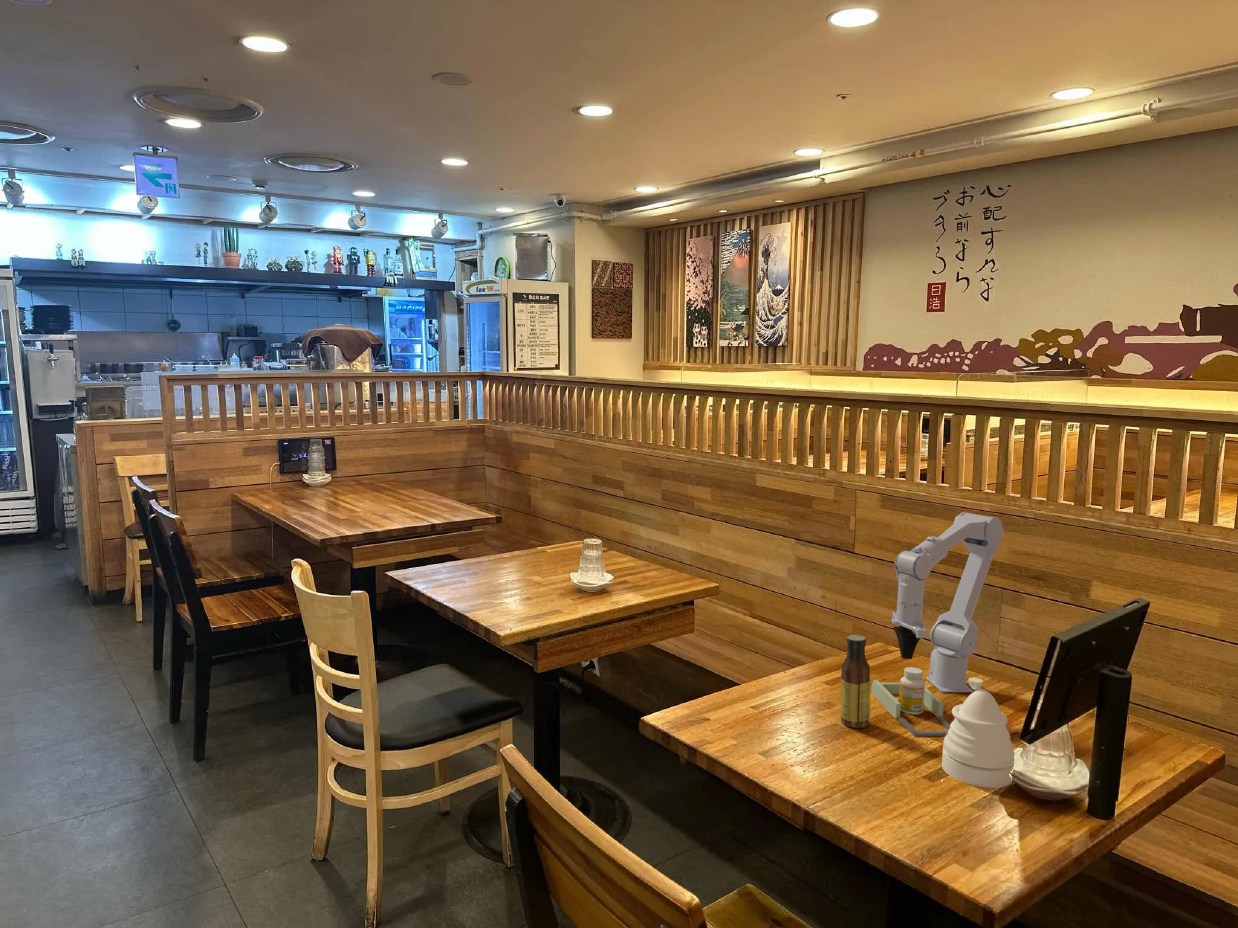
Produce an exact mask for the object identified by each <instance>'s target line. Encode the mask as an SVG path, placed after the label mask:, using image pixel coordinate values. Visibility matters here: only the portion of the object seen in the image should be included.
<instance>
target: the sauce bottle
mask: <svg viewBox="0 0 1238 928" xmlns="http://www.w3.org/2000/svg"><path fill="white" fill-rule="evenodd" d="M846 644H847V650H846V651H847V652H846V658H845V659H844V661H843V663H842V665H841V674H840V675H841V676H840V678H841V680H840V722H842V724H843V725H845V726H846V727H849V728H854V729H863V728H867V727H868V726H869V723H870V716H871V714H870V712H871V711H870V710H871V668H870V667H871V665H870V664H869V662H868V660H867V658H866V654H865V653H866V645H867V638H866V637H865V636H863V635H859V634H850V635H848V636H846Z"/></svg>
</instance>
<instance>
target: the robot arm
mask: <svg viewBox="0 0 1238 928" xmlns="http://www.w3.org/2000/svg"><path fill="white" fill-rule="evenodd" d="M1004 533H1005V530H1004V526H1003V522H1002V521H1001V519H1000V518H999V517H997V516H987V515H983V514H982V515H981V514H975V513H971V512H968V511H963V512H960V514H958V515H956V516H955V518H954V521H953V524H952V525H951V526H950V527H948V529H946V530H945V531H944V532H943V533H942V534H940V535H939V536H938V537H937V536H927V537H926V538H925V540H924V541H923V542H921V543H919V544H918V545H917V546H915V547H913V548H912V549H911V550H910V551H909V550H903V551H902V552H900V553H898V554H897V556H896V558H895V562H894V563H893V566H894V567H893V568H894V571H895V572H896V580H897V581H898V588H897V602H896V603H897V605H896V611H892V617H891V618H892V619H891V621H890V622H891V623H892V624H893V625H898V626H893V631H894V633H895V635H896V638H897V640H898V641H897V642H898V646H899V653H900V657H901V658H902V659H903V660H912V659H913V656H914V653H915V651H916V648H917V645H918V643H919V642H920V640H921V639H926V638H927V629H925V626H924V622H923V611H924V595H925V581H926V580H925V579H926V578H928V577H929V575H930V573H931V571H932V569H933V568H934V566H935V565H936V564H938V563H939V562H940V561H941V560H943V559H944V558H946V557H947V555H948V553H949V552H948V551H949V549H951V548H952V547H954V546H956V545H957V544H959V543H961V542H962V544H963V545H964V547H966V548H967V549H968V551H969V554H968V558H967V560H966V564H965V566H964V569H963V571H962V572H963V573H962V574H961V579H960V581H959V584H958V587H957V589H956V592H955V595H954V597H953V601H952V602H951V603H952V604H951V605H950V610H948V611H947V612H944V613H941V614H940V615H938V618H937V620H936V622H935V624H933V626H932V627H931V630H930V633H929V637H930V638H929V639H930V642H931V644H932V645H934V646H933V647H934V648H933V650H932V651H931V654H930V659H929V660H930V661H929V675H928V676H925V679H926V680H927V681H928V682H930V684H932V685H933V686H934V687H935V688H936V689H937V690H938V691H940V692H941V693H973V692H974V689H972V688H971V687H969V686H968V685H967V673H968V660H969V656H972V654H973V653H974V652H975V650H976V649H977V645H978V635H979V632H980V629H979V627H978V625H976V622H975V621H974V620H973V619H972V618H973V617H974V616H973V615H974V613H975V609H976V608H977V607H976V606H977V604H978V600H979V598H980V596H981V592H982V589H983V587H984V583H985V581H986V578H987V575H988V572H989V568H990V567H991V563H992V560H993V559H994V554H996V553H997V552H998V550H999V547H1000V544H1001V542H1002V541H1001V540H1002V538H1003V535H1004Z"/></svg>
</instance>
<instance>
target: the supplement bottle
mask: <svg viewBox="0 0 1238 928" xmlns="http://www.w3.org/2000/svg"><path fill="white" fill-rule="evenodd" d="M903 669H904V670H903V671H904V672H903V675H904V676H903V677H901V678H900V681H899V683H900V694H898V695H899V697H898V702H899V703H900V704H901V706H900V712H903V713H905V714H908V715H915V716H916V715H921V714H923V712H924V706H925V705H924V692H925V687H926V683H925V680H924V679H923V672H924V671H923V670H922V669H920V668H918V667H914V666H909V667H908V666H907V667H905V668H903Z"/></svg>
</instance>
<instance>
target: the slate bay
mask: <svg viewBox="0 0 1238 928" xmlns="http://www.w3.org/2000/svg"><path fill="white" fill-rule="evenodd" d="M897 720H898V721H899V722H900V723H901V724H902V725H903V726H904V727H905V728H906V729H907V730H908V732H910V734H911V735H912V736H913V737H945V736H946V735H947V734H948V731H947V730H949V728H950V725H951V723H949V722H948V720H946V719H945V718H944V716H943V717H936V720H937V721H938V722H939V723H940V724H942V726H944V727H945V729H946V730H945V731H942V730H941V731H939V730H938V731H935V730H934V731H933V730H932V731H917V730H916V729H915V728H914V727H913V726H912V724H910V722H909V721H907V719H906V718H905V717H904V716H900V717H899V719H897Z"/></svg>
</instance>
